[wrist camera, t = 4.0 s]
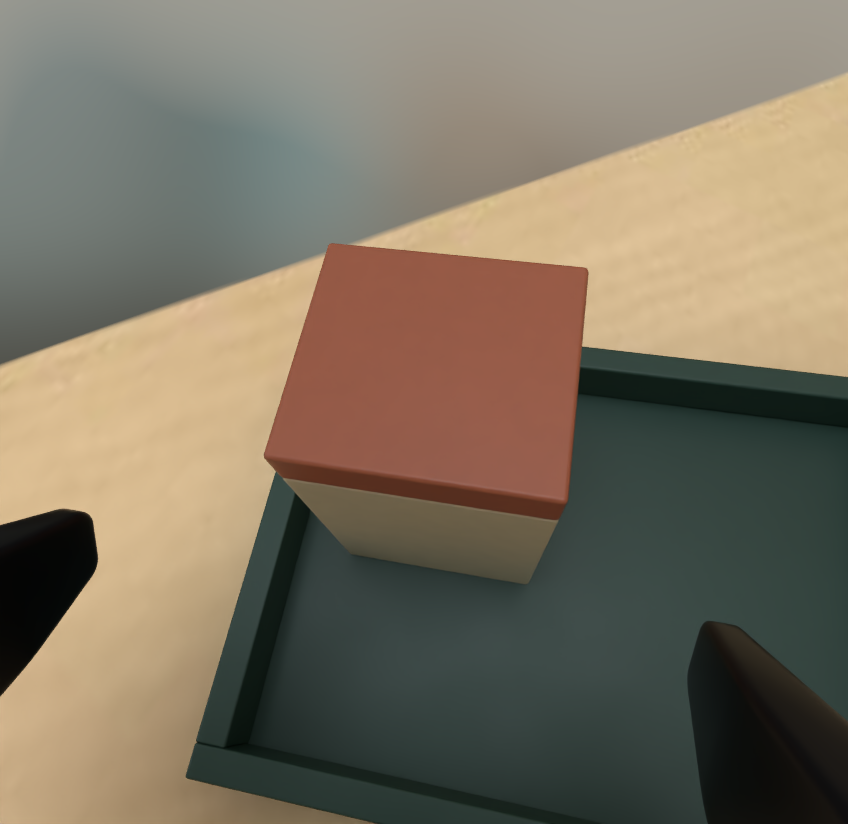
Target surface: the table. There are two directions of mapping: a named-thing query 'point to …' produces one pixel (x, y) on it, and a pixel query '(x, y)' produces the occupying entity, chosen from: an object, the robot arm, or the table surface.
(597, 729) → the tray
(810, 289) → the table surface
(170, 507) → the table surface
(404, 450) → the carton
